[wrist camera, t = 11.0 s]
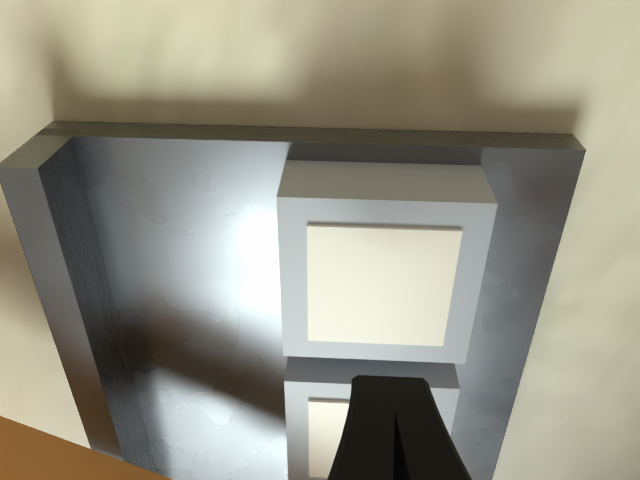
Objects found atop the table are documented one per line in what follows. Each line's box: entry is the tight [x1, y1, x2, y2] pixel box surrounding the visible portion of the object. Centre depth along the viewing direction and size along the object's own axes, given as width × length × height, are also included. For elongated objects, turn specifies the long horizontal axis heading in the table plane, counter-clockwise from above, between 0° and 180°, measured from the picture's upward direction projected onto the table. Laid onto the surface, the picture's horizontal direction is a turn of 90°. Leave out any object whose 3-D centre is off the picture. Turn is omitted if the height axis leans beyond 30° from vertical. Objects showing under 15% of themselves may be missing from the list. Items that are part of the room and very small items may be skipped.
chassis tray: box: [0, 121, 586, 480], centre depth 18 cm, size 14×17×4 cm
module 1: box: [276, 160, 498, 364], centre depth 15 cm, size 5×5×2 cm
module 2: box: [284, 356, 460, 480], centre depth 18 cm, size 5×5×2 cm
